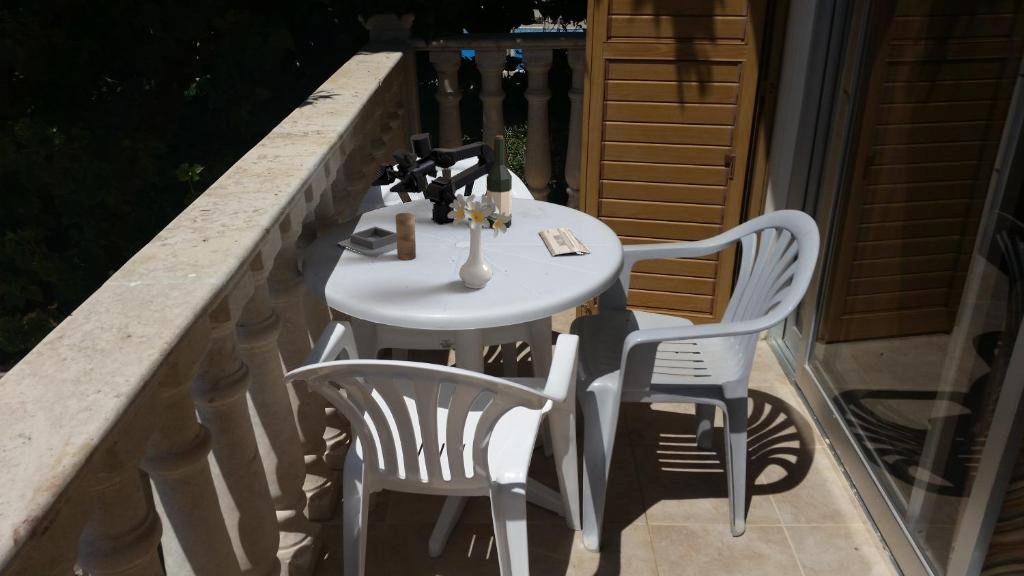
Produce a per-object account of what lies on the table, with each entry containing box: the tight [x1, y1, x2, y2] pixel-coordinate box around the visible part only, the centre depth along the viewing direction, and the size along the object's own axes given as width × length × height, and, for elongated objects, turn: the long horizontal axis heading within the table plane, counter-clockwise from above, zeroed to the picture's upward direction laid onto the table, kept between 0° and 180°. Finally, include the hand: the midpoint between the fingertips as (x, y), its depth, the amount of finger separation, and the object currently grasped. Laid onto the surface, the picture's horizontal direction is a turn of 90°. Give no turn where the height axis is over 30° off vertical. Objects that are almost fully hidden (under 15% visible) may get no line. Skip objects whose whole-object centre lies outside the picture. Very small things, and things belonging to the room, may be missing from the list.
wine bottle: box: [486, 134, 513, 230], centre depth 266 cm, size 8×8×30 cm
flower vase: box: [448, 193, 513, 290], centre depth 220 cm, size 13×18×25 cm
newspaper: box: [538, 227, 592, 257], centre depth 256 cm, size 23×12×2 cm, turn 9°
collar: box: [337, 226, 397, 258], centre depth 252 cm, size 16×16×4 cm
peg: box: [395, 212, 417, 261], centre depth 241 cm, size 6×6×13 cm
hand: (380, 187), depth 252 cm, fingers open, 9 cm apart
